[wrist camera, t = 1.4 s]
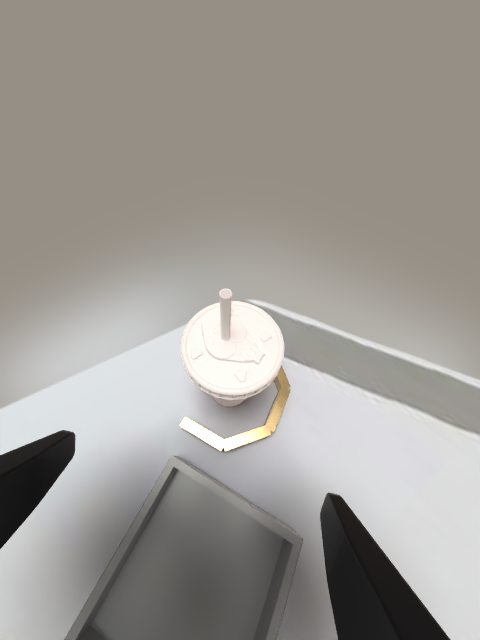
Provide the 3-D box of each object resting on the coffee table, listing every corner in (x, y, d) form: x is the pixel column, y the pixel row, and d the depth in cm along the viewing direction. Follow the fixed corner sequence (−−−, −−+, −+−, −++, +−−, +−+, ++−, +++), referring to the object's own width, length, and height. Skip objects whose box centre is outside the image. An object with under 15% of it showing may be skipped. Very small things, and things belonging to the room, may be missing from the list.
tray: (226, 754, 12) (226, 825, 10) (82, 625, 14) (53, 658, 12) (292, 529, 17) (303, 539, 15) (178, 456, 19) (171, 455, 17)
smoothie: (221, 344, 25) (217, 233, 13) (274, 376, 23) (328, 284, 11) (182, 397, 22) (129, 316, 10) (241, 438, 20) (265, 401, 8)
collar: (255, 472, 19) (257, 473, 18) (182, 428, 20) (179, 425, 19) (297, 366, 24) (302, 360, 22) (236, 336, 25) (237, 329, 24)
